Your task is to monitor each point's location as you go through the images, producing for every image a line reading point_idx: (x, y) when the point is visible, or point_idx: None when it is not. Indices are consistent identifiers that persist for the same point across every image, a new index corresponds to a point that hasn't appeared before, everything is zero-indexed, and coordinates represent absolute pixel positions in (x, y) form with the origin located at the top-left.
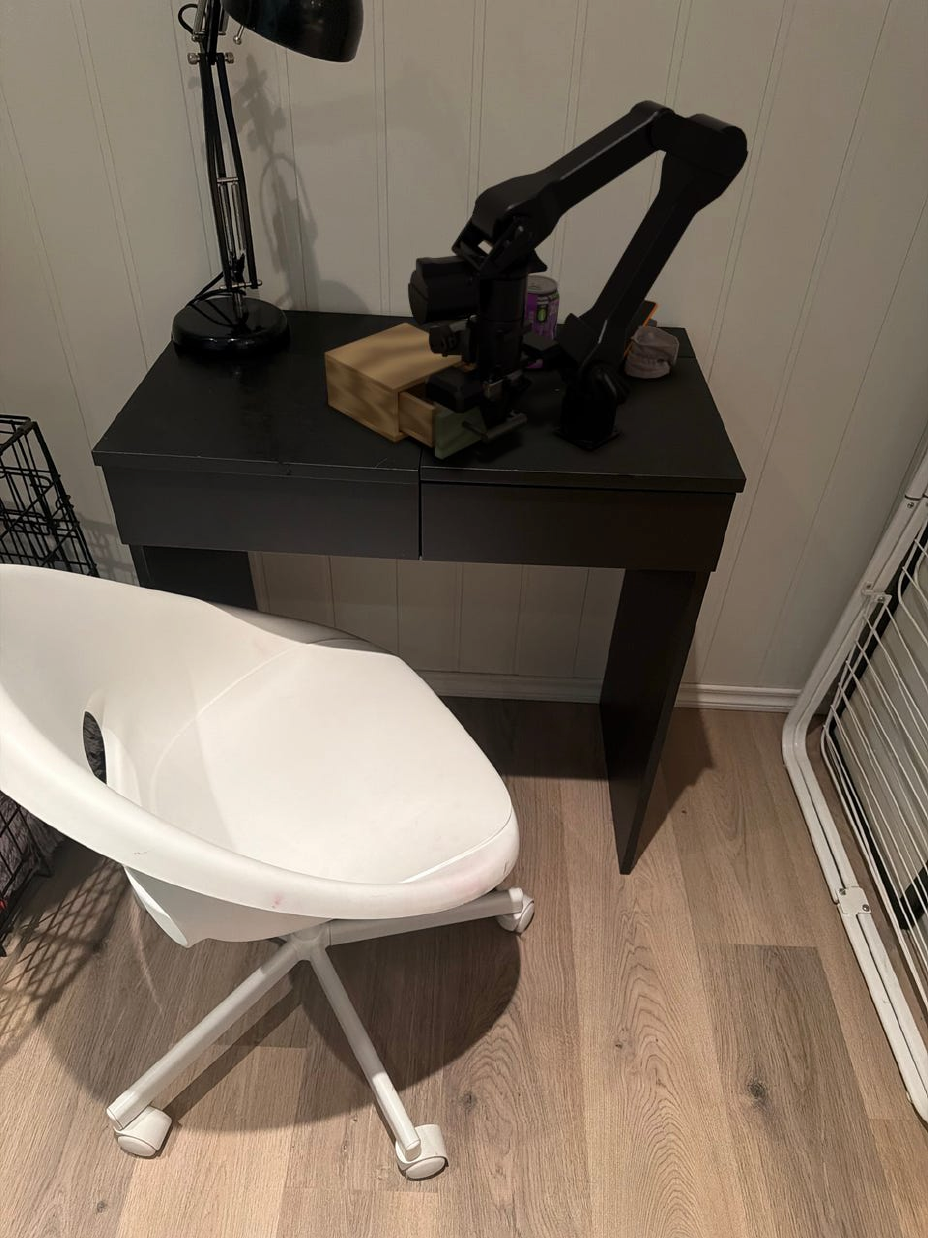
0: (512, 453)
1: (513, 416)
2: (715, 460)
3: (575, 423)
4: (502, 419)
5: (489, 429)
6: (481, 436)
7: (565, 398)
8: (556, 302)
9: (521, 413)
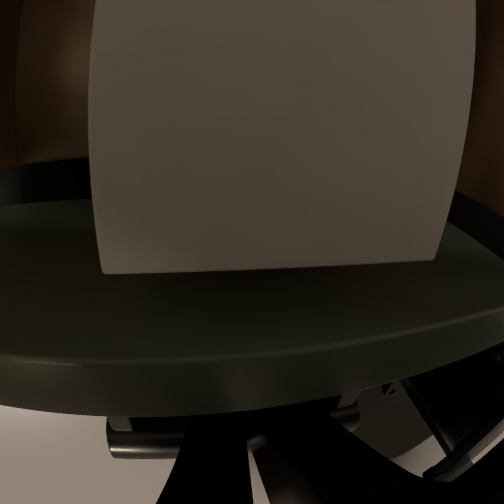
0: None
1: (336, 403)
2: (421, 438)
3: (428, 389)
4: (250, 446)
5: (145, 452)
6: (106, 424)
7: (492, 368)
8: None
9: (355, 424)
